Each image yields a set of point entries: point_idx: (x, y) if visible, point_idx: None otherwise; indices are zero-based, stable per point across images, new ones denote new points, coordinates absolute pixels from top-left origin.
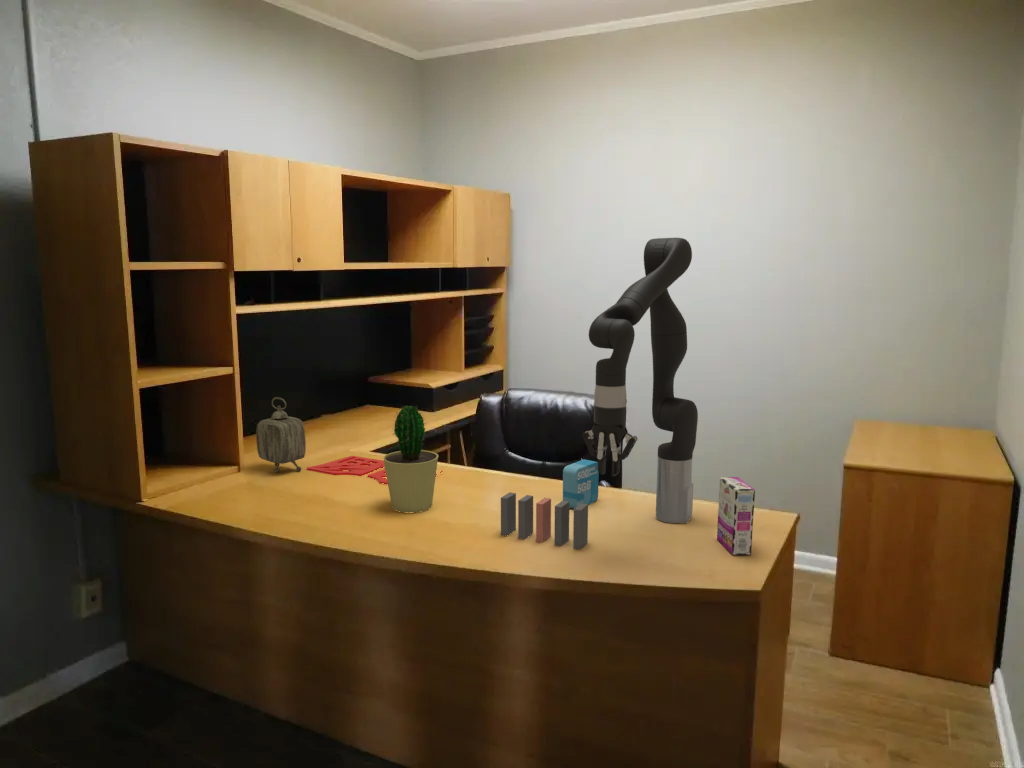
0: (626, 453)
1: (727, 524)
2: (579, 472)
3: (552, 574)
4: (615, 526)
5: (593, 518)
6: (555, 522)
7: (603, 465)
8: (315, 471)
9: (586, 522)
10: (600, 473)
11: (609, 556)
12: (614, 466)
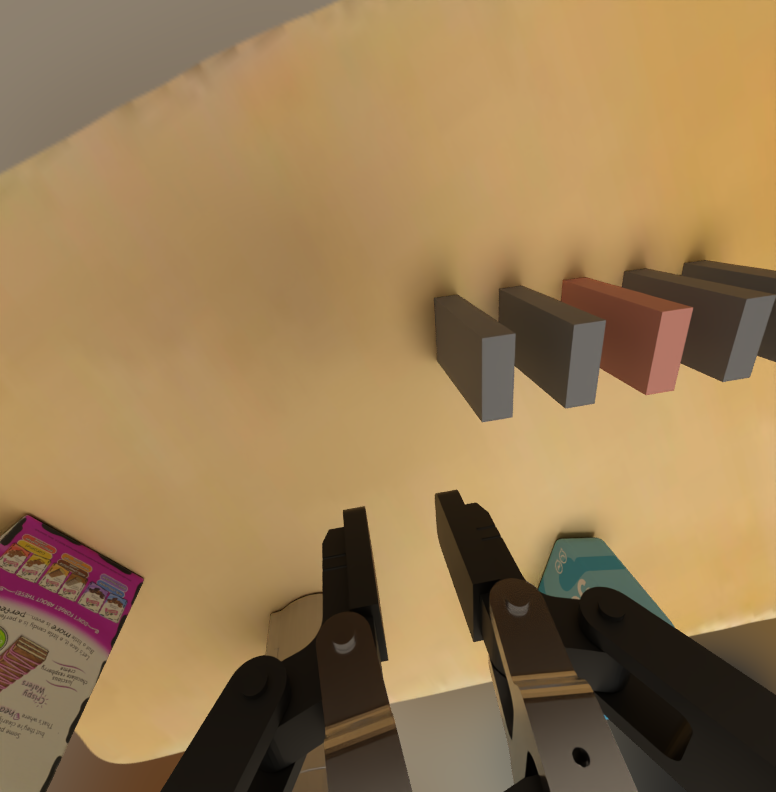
0: (191, 762)
1: (25, 606)
2: None
3: (419, 3)
4: (420, 506)
5: (496, 517)
6: (560, 303)
7: (455, 554)
8: None
9: (458, 377)
10: (453, 492)
11: (325, 302)
12: (348, 569)
